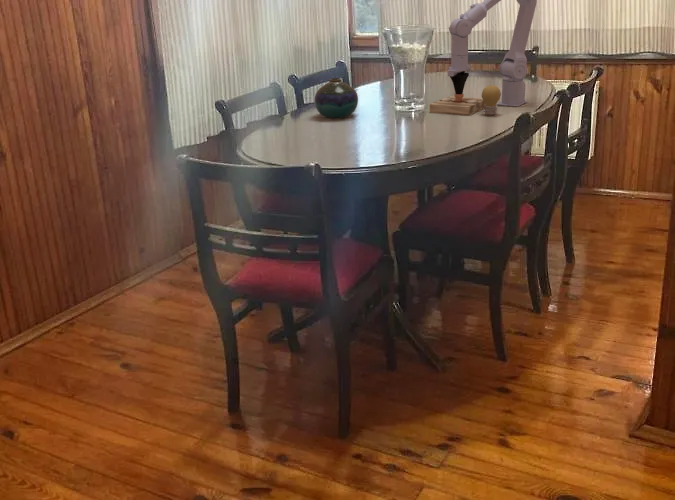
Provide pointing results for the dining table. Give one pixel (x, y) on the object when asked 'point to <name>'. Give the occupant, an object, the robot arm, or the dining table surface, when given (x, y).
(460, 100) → the plug mid
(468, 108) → the socket board
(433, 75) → the dining table surface
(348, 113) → the vase
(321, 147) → the dining table surface
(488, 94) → the light bulb
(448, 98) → the plug far
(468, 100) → the plug near
